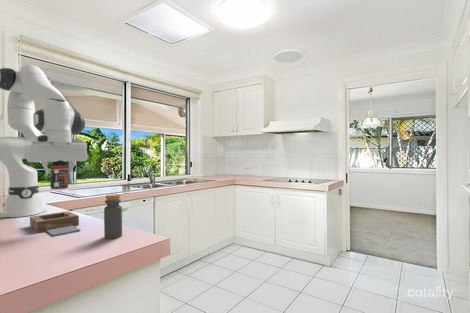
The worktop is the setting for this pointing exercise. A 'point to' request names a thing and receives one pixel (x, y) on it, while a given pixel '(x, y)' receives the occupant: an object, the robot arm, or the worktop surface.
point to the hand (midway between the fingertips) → (59, 173)
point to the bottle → (113, 217)
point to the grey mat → (63, 230)
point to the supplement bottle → (59, 175)
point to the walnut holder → (53, 221)
